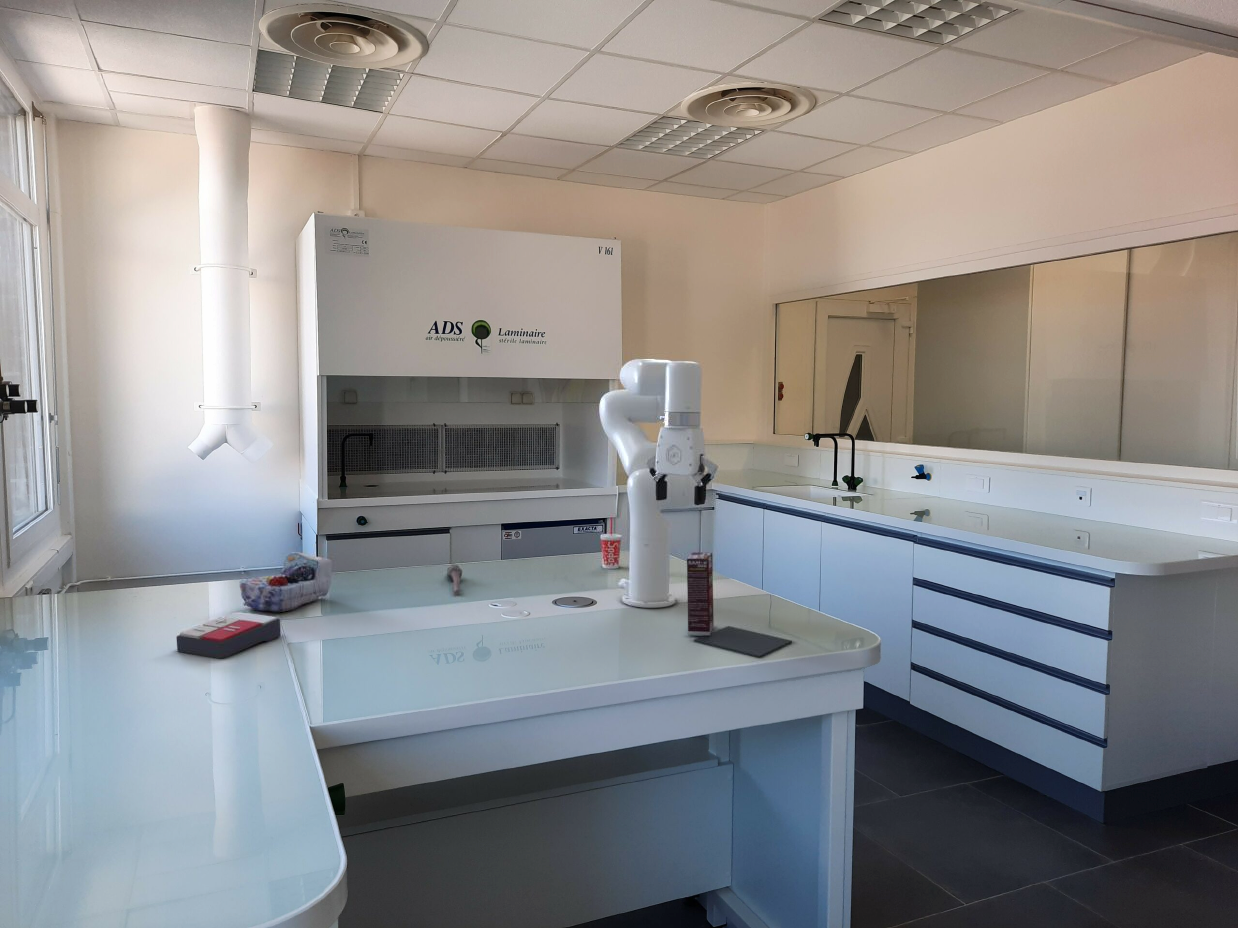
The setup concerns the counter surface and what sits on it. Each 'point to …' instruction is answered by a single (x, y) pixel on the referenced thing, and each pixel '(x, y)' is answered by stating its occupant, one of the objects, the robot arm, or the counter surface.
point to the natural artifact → (455, 577)
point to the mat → (743, 641)
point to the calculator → (228, 634)
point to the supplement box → (700, 594)
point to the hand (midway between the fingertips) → (680, 502)
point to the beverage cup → (611, 549)
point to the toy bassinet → (289, 584)
